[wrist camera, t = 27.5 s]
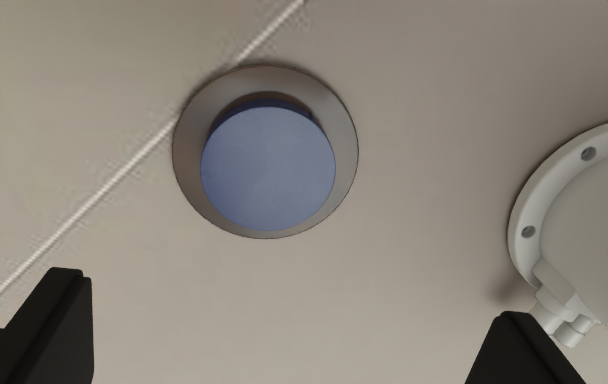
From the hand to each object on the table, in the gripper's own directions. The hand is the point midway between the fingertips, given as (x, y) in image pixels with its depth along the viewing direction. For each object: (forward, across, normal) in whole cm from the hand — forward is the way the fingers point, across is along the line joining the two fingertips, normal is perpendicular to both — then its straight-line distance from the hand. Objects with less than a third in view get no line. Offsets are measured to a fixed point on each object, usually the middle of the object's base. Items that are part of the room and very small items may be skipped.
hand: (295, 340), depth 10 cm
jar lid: (+13, 0, +1) cm, 13 cm away
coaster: (+15, 0, +1) cm, 15 cm away
